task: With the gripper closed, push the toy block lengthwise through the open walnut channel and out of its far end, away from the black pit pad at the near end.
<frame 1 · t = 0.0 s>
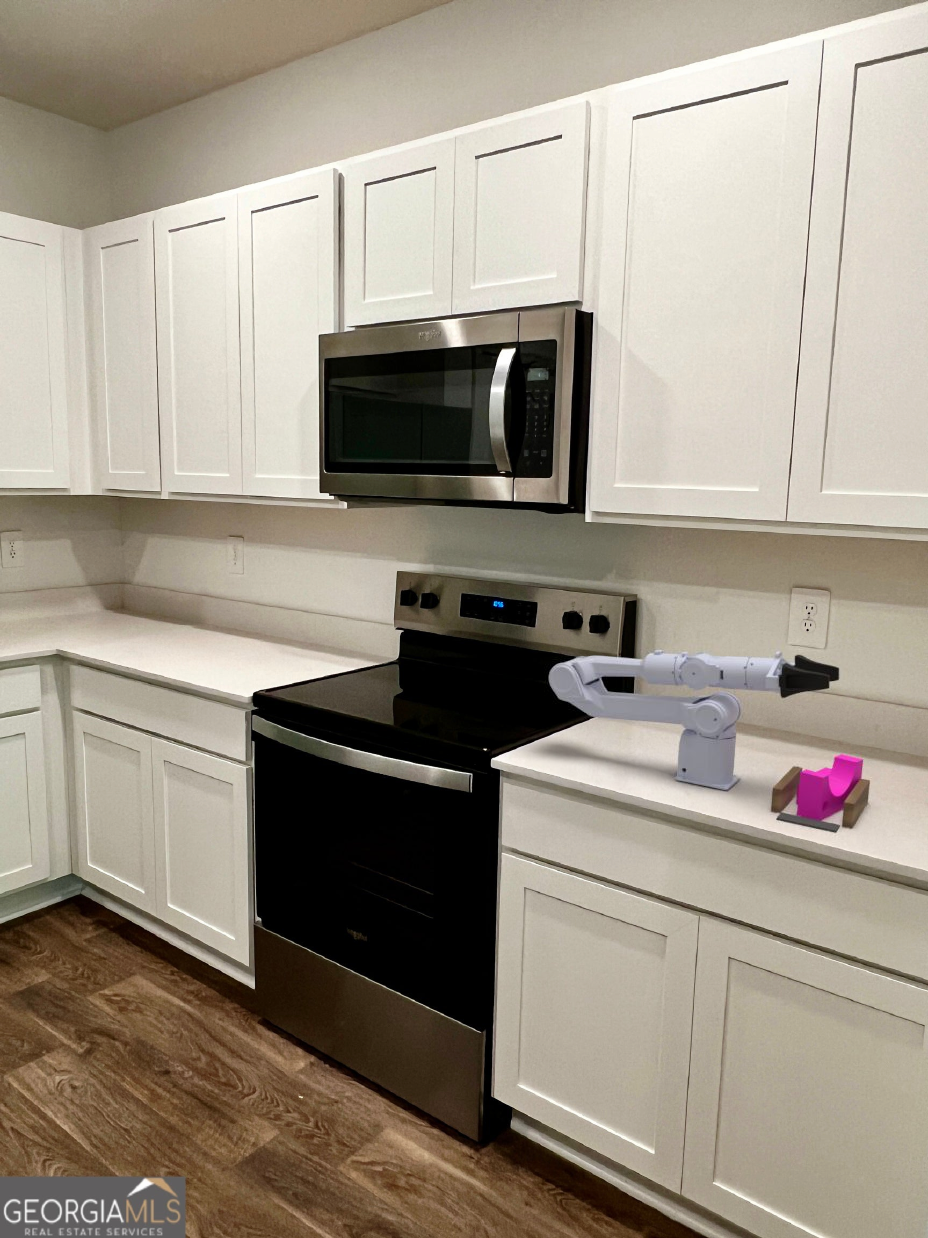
hand: (834, 677, 149), 22 cm above the countertop, tool horizontal, fingers open, 7 cm apart
toy block: (821, 807, 152), on the countertop
channel: (820, 807, 151), on the countertop
pit pad: (807, 823, 143), on the countertop
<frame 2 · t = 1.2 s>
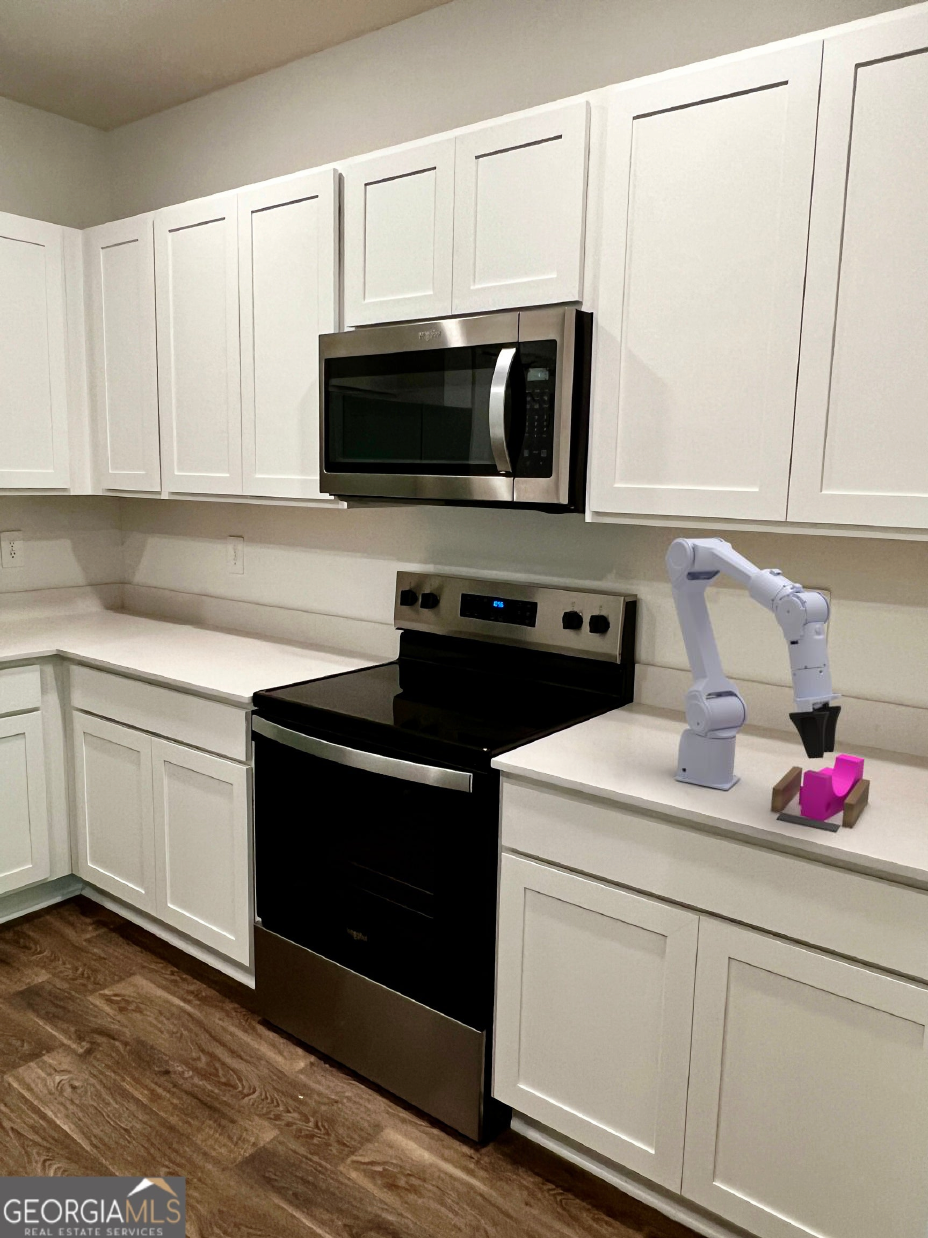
hand: (821, 755, 141), 12 cm above the countertop, tool tilted 15°, fingers open, 7 cm apart
nothing on the countertop moved.
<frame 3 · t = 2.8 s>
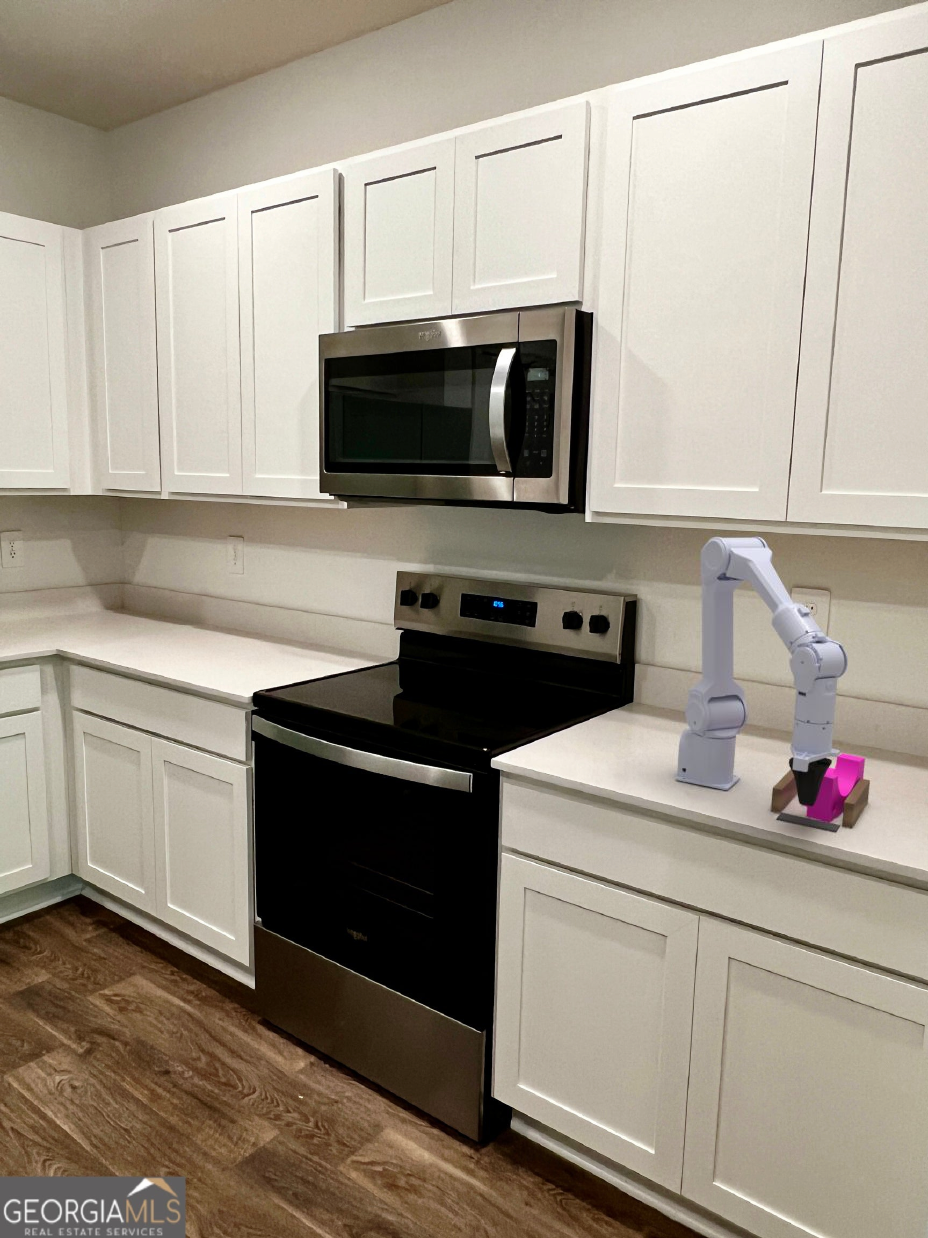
hand: (806, 804, 141), 4 cm above the countertop, tool pointing down, fingers closed
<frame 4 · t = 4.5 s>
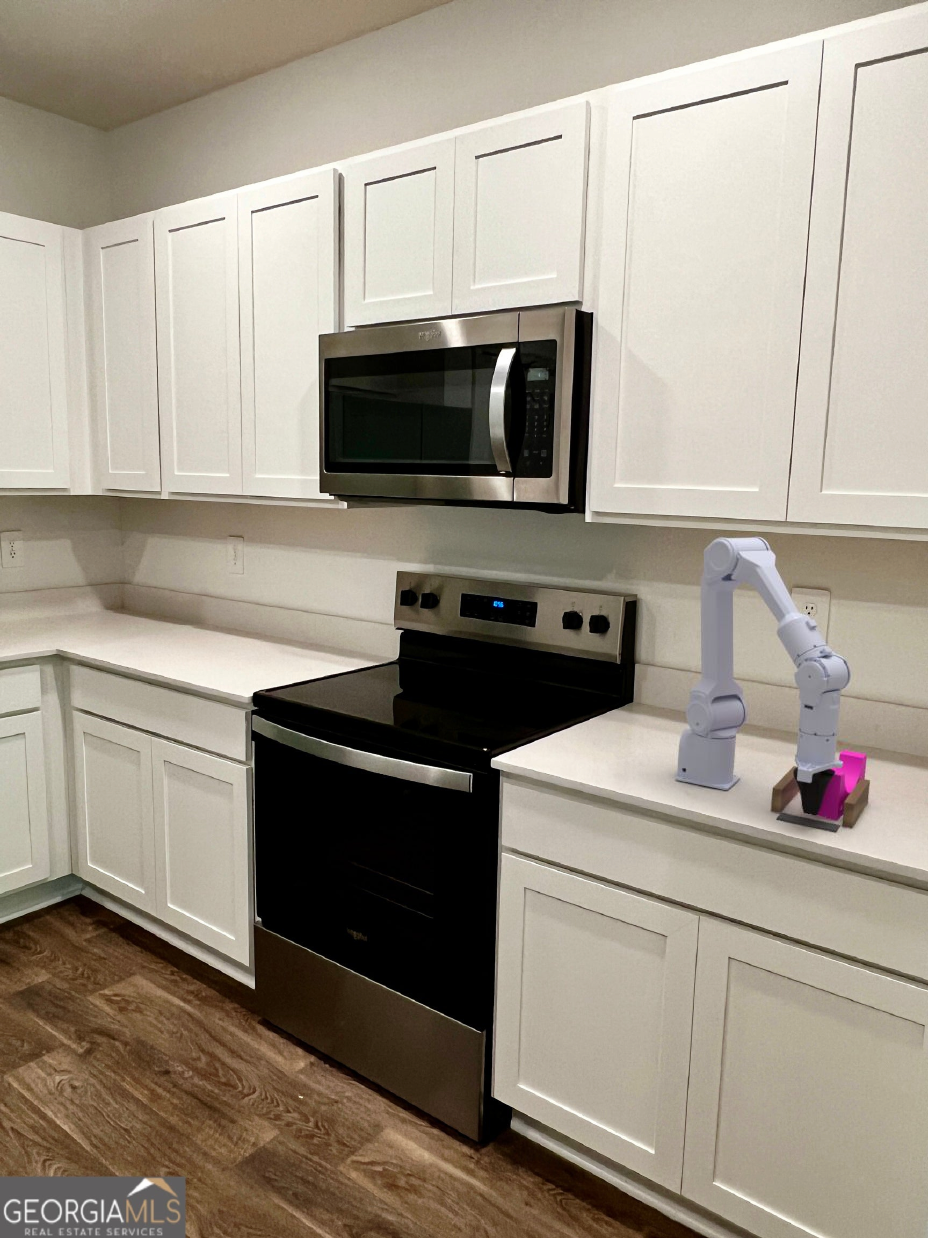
hand: (810, 813, 145), 1 cm above the countertop, tool pointing down, fingers closed
toy block: (831, 804, 152), on the countertop, touching gripper
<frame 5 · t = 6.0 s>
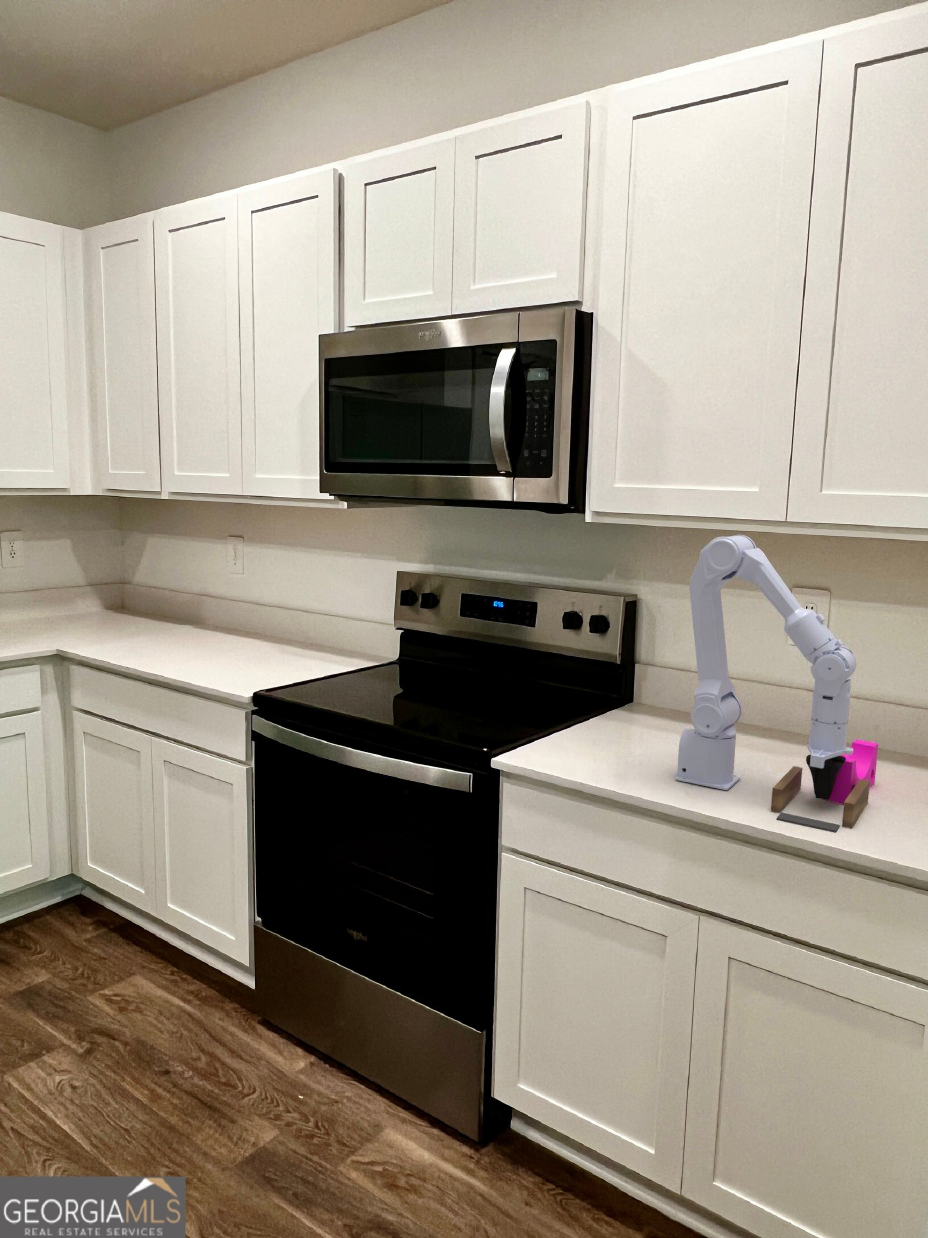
hand: (822, 798, 152), 1 cm above the countertop, tool pointing down, fingers closed
toy block: (843, 791, 159), on the countertop, touching gripper
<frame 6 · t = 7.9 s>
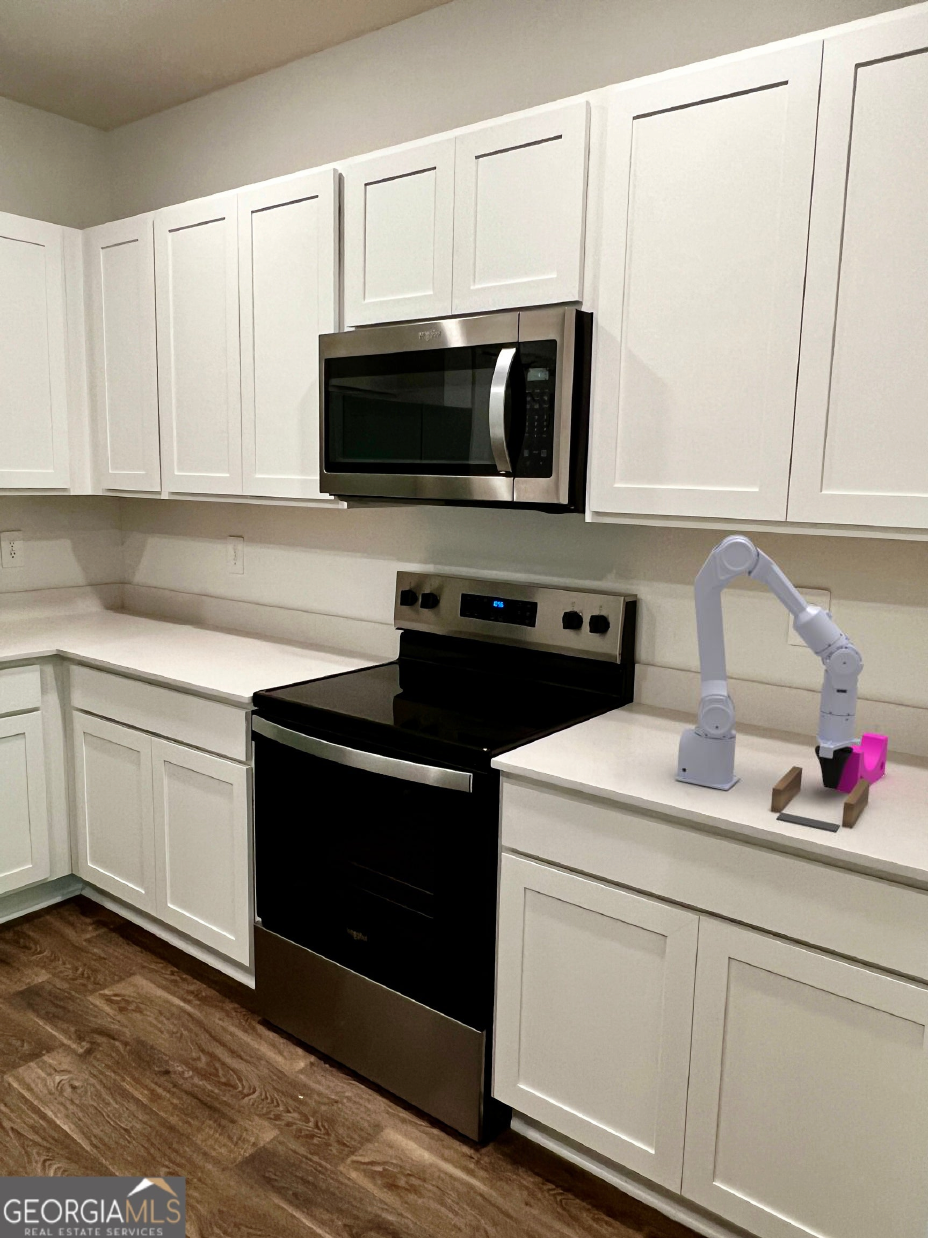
hand: (830, 787, 157), 1 cm above the countertop, tool pointing down, fingers closed
toy block: (852, 781, 165), on the countertop, touching gripper
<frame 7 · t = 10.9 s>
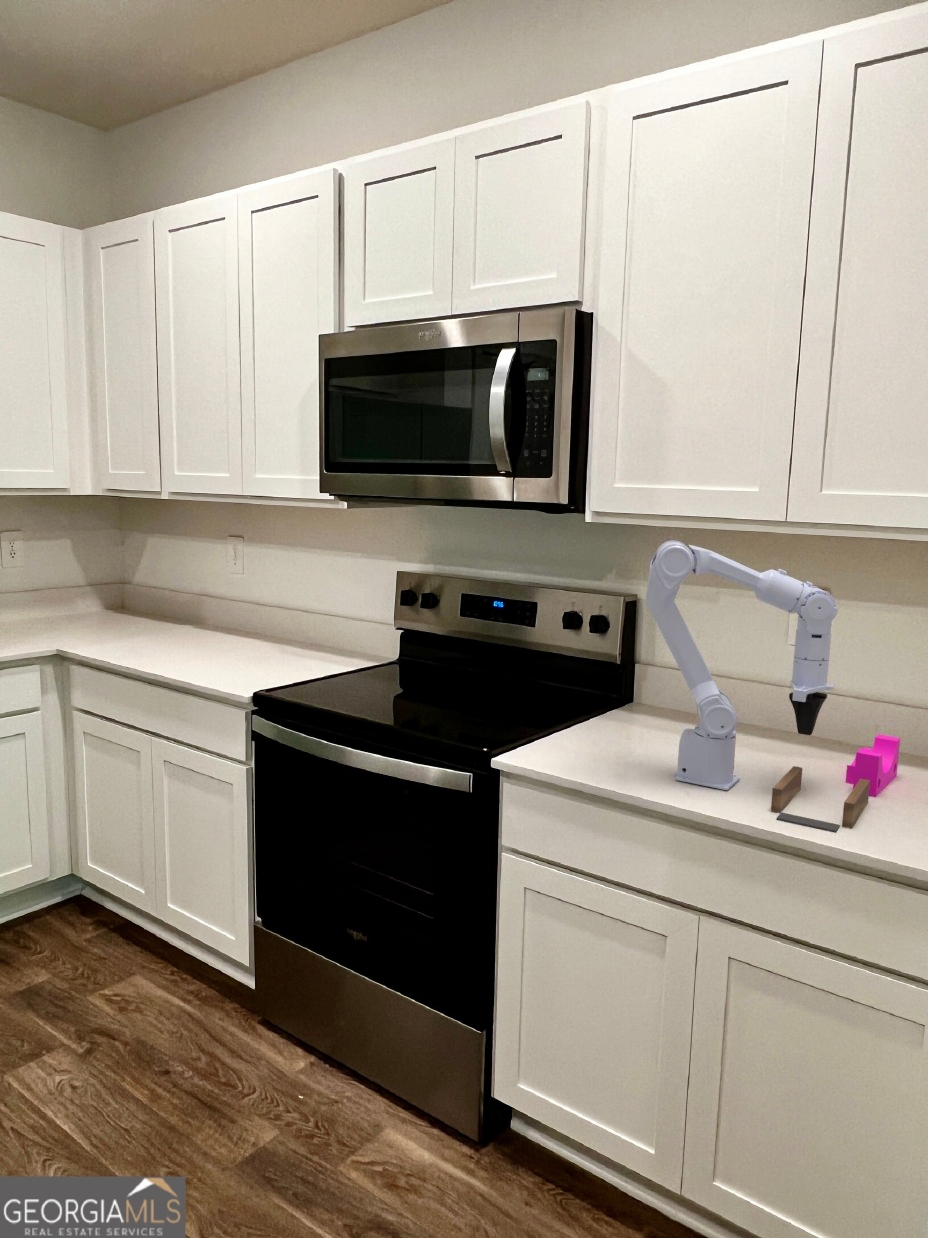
hand: (805, 733, 158), 10 cm above the countertop, tool pointing down, fingers closed
toy block: (867, 784, 164), on the countertop
at the end: toy block inside the target area (4.0 cm from its centre), on the countertop; toy block tilted 0°; toy block inside the target area (4.7 cm from its centre), on the countertop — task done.
